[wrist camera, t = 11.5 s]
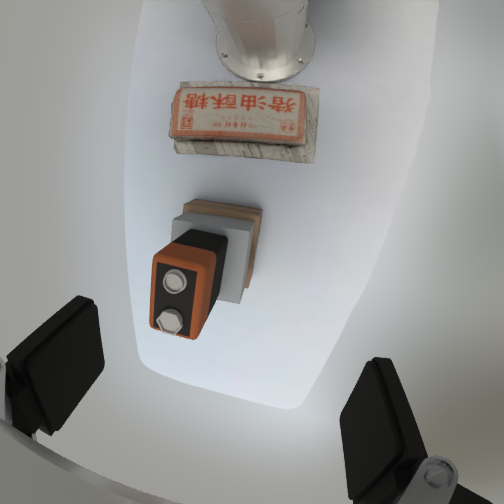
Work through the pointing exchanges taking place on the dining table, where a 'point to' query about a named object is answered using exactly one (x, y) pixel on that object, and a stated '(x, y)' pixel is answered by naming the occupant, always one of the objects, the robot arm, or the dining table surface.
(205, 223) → the top block
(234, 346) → the dining table surface
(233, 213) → the bottom block
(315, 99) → the packaged product
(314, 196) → the dining table surface
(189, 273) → the battery
